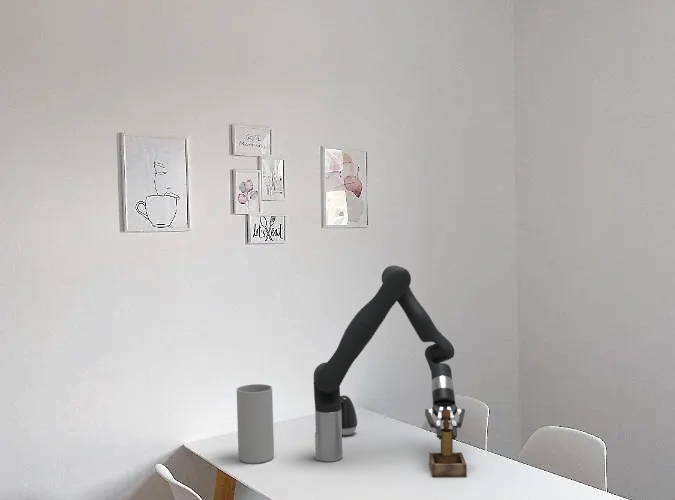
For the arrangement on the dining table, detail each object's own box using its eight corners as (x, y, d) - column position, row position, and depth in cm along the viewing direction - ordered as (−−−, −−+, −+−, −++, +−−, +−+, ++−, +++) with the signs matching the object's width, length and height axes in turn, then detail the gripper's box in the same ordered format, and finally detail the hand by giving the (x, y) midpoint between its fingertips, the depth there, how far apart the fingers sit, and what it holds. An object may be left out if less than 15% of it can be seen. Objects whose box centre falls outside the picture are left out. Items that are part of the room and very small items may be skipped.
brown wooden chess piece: (456, 467, 223) (455, 412, 222) (436, 466, 224) (435, 411, 224) (457, 460, 230) (456, 407, 229) (437, 459, 231) (436, 406, 230)
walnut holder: (432, 477, 221) (431, 464, 221) (429, 464, 233) (429, 452, 233) (466, 476, 221) (466, 464, 220) (462, 464, 233) (461, 452, 232)
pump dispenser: (328, 437, 266) (327, 398, 266) (336, 429, 276) (335, 391, 276) (353, 438, 263) (352, 399, 263) (360, 430, 273) (359, 393, 273)
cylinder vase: (231, 459, 243) (229, 389, 243) (258, 450, 253) (256, 382, 252) (254, 466, 235) (252, 394, 234) (281, 457, 244) (279, 387, 243)
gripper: (422, 386, 234) (425, 433, 222) (464, 386, 233) (470, 432, 221) (421, 398, 239) (425, 443, 228) (463, 398, 239) (468, 443, 227)
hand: (447, 438), depth 225 cm, fingers closed on brown wooden chess piece, 4 cm apart
